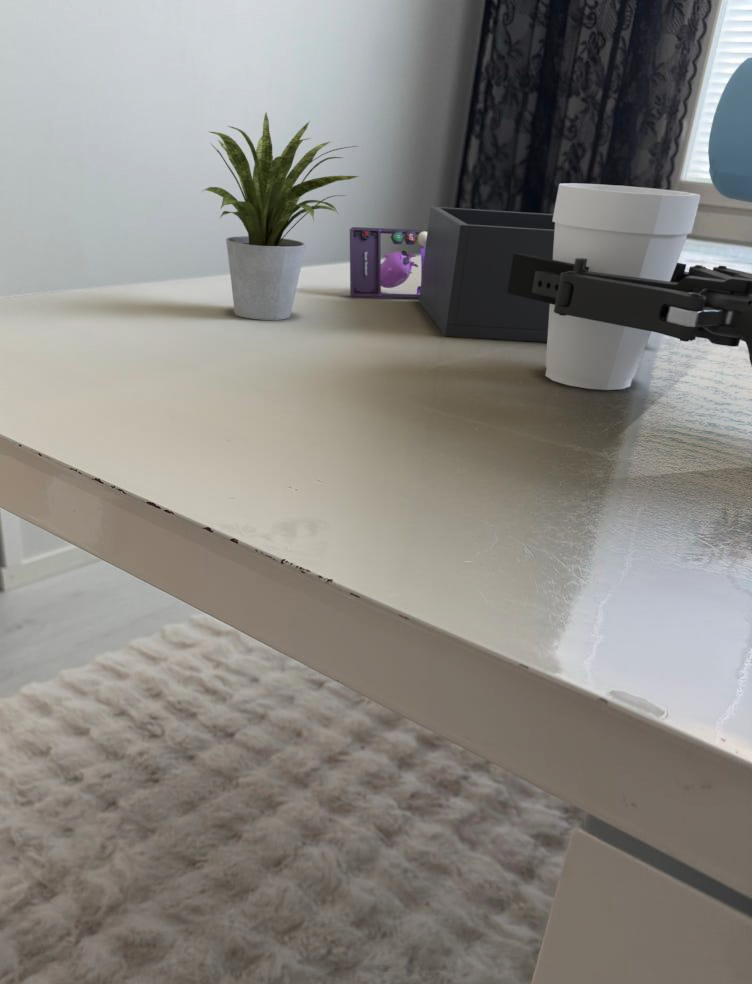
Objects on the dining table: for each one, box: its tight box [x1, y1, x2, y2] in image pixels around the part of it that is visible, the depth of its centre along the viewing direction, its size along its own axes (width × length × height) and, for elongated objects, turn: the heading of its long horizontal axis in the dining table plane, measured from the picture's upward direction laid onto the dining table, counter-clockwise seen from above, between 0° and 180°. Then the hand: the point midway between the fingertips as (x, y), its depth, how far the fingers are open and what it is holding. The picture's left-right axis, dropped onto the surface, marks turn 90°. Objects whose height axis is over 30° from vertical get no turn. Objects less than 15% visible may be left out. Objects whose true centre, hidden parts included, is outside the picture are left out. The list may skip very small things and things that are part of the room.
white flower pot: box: [544, 182, 701, 391], centre depth 69 cm, size 10×9×13 cm
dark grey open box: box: [418, 206, 555, 343], centre depth 89 cm, size 18×18×9 cm
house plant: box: [201, 111, 359, 321], centre depth 82 cm, size 14×14×16 cm
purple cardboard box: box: [349, 226, 428, 299], centre depth 101 cm, size 7×5×9 cm
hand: (563, 271), depth 72 cm, fingers closed on white flower pot, 9 cm apart
